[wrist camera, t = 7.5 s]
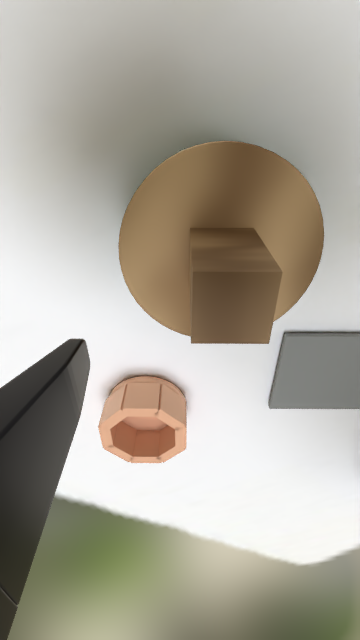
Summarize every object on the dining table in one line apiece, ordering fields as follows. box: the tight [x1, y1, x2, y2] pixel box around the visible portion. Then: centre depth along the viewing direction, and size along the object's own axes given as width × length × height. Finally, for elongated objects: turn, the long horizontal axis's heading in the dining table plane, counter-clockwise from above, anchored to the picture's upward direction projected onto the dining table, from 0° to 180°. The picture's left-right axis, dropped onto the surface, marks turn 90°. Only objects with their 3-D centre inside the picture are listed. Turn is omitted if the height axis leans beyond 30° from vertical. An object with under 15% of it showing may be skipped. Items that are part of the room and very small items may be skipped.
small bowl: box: [98, 376, 186, 463], centre depth 27 cm, size 7×7×4 cm
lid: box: [119, 141, 324, 344], centre depth 14 cm, size 10×10×6 cm
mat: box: [269, 333, 360, 409], centre depth 26 cm, size 10×8×1 cm
